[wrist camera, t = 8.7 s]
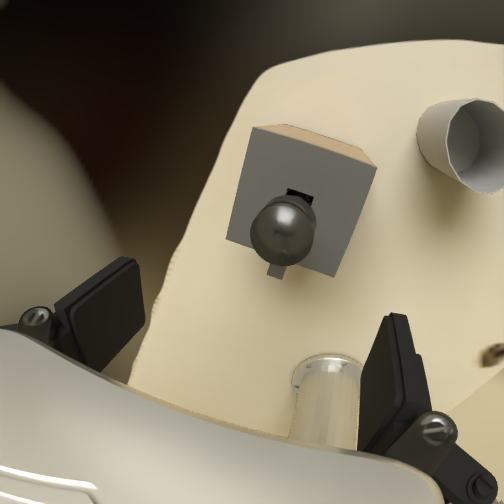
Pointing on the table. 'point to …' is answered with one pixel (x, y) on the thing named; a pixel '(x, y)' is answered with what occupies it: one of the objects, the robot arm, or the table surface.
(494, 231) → the table surface
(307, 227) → the lever with black knob
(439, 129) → the cup
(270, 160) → the tan lever base
